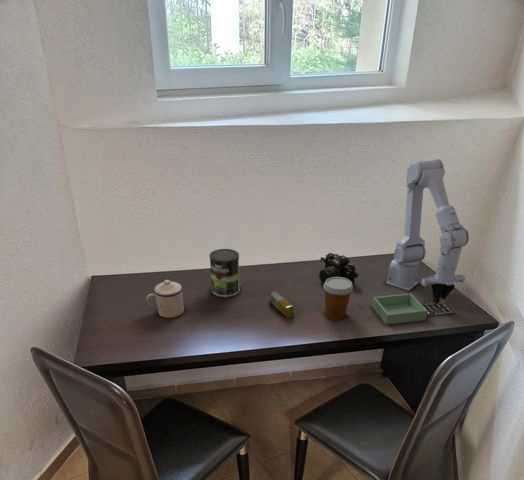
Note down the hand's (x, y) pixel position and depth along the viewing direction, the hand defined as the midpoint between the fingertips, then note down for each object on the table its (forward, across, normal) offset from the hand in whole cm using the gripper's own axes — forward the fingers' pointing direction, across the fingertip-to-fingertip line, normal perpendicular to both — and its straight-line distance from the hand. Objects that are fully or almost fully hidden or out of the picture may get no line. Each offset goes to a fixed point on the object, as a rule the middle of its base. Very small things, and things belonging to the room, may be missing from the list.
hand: (437, 302), depth 156 cm
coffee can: (+3, -69, +28) cm, 74 cm away
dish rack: (+3, 0, 0) cm, 3 cm away
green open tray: (+3, -14, 0) cm, 14 cm away
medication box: (+3, -52, +10) cm, 53 cm away
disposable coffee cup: (+3, -35, +4) cm, 35 cm away
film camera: (+3, -28, +26) cm, 38 cm away
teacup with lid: (+3, -90, +16) cm, 92 cm away
